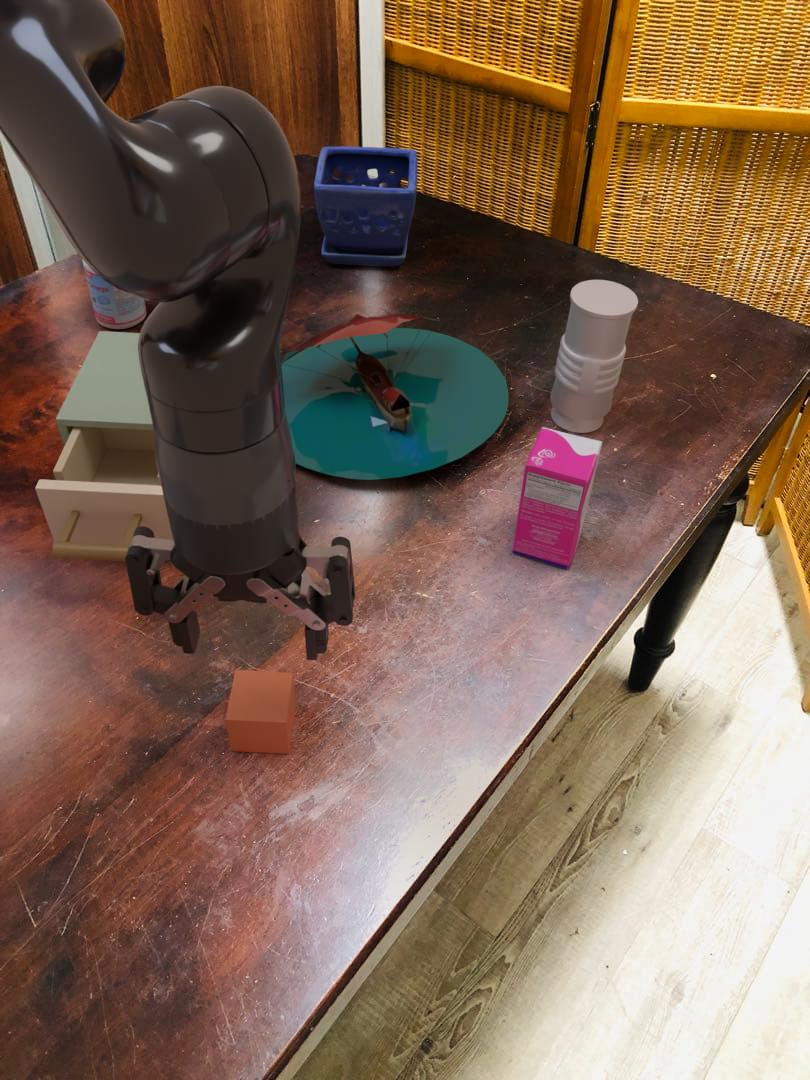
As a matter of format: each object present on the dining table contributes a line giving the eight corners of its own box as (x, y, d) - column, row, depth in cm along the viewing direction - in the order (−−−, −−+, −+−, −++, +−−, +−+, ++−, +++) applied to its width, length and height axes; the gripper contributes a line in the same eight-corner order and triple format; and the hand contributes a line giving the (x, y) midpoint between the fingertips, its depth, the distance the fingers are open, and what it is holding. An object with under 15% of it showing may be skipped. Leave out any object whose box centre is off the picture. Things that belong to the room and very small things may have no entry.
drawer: (166, 596, 77) (152, 538, 72) (37, 589, 77) (13, 531, 72) (207, 457, 90) (198, 399, 85) (96, 451, 90) (80, 393, 85)
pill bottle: (87, 315, 109) (65, 229, 101) (131, 299, 112) (114, 214, 104) (111, 337, 106) (91, 250, 98) (156, 320, 109) (140, 234, 101)
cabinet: (204, 498, 87) (192, 426, 81) (77, 491, 87) (55, 418, 81) (230, 407, 97) (221, 337, 91) (116, 401, 97) (99, 330, 91)
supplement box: (525, 514, 87) (542, 423, 79) (583, 531, 86) (607, 441, 78) (508, 553, 84) (524, 462, 75) (568, 572, 82) (592, 481, 74)
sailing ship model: (444, 318, 112) (442, 235, 104) (554, 442, 93) (562, 352, 85) (230, 376, 105) (211, 292, 97) (302, 523, 86) (286, 432, 78)
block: (231, 751, 68) (224, 719, 65) (240, 701, 71) (235, 669, 68) (289, 754, 68) (286, 722, 65) (296, 704, 71) (293, 672, 68)
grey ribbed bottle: (544, 430, 97) (567, 311, 86) (548, 393, 101) (571, 275, 91) (607, 440, 96) (639, 320, 85) (608, 402, 101) (638, 284, 90)
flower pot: (313, 272, 118) (310, 185, 110) (323, 225, 127) (321, 142, 119) (412, 277, 118) (416, 191, 110) (415, 230, 128) (419, 147, 119)
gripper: (84, 514, 48) (139, 686, 59) (347, 528, 48) (350, 697, 59) (120, 427, 53) (164, 601, 65) (357, 439, 53) (358, 611, 65)
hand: (253, 647), depth 62 cm, fingers open, 8 cm apart
